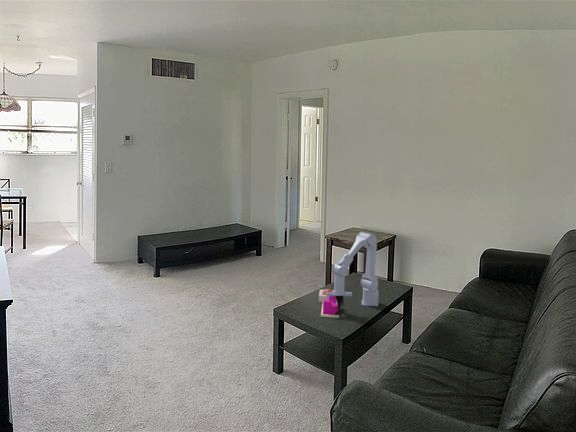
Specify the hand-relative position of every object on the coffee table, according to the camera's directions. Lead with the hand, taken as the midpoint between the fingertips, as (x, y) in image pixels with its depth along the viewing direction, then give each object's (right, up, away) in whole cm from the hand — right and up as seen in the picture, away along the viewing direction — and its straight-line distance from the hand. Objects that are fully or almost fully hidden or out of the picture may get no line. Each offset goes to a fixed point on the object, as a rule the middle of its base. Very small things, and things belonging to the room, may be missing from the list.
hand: (338, 308), depth 269 cm
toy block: (-4, -2, +2) cm, 5 cm away
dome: (-4, +2, +19) cm, 20 cm away
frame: (-4, -2, +1) cm, 5 cm away
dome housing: (-4, +2, +20) cm, 20 cm away
